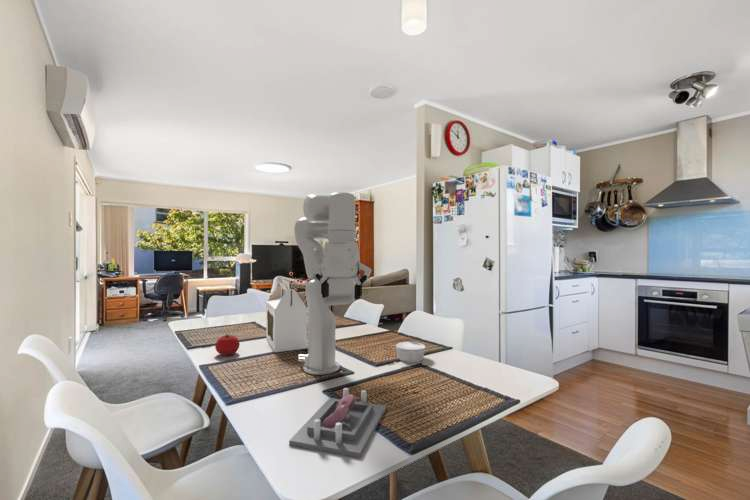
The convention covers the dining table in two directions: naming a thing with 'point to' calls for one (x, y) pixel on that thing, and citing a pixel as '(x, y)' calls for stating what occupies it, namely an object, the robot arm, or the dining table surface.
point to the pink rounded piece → (340, 411)
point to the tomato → (227, 345)
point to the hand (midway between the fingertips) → (341, 298)
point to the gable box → (286, 319)
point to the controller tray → (340, 428)
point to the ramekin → (410, 351)
